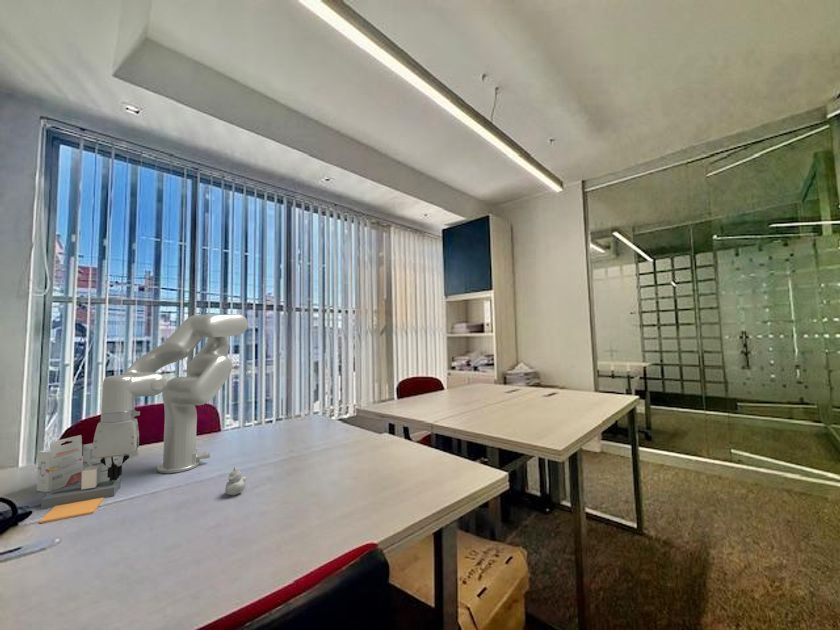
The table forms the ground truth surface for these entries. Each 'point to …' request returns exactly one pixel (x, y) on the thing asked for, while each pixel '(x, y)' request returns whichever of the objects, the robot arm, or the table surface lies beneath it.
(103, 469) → the supplement box
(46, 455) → the ink cartridge box
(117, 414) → the robot arm
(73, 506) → the pad
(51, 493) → the gray flat block
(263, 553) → the table surface
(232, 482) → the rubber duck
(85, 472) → the cream rectangular block
